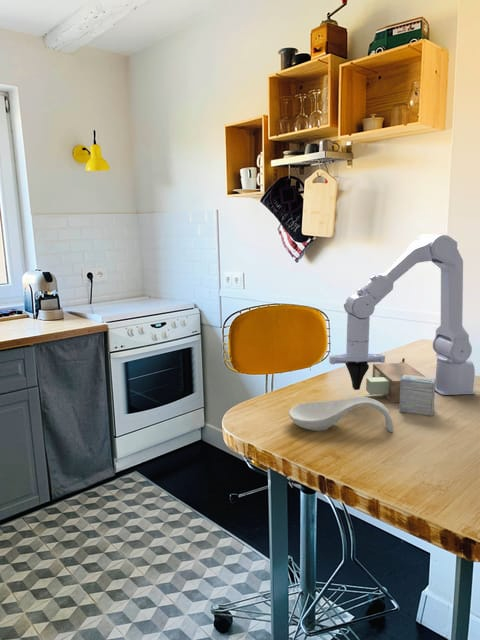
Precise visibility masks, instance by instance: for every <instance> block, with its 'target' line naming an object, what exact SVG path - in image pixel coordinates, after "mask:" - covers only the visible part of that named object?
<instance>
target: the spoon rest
mask: <svg viewBox="0 0 480 640" xmlns="http://www.w3.org/2000/svg"><path fill="white" fill-rule="evenodd" d="M362 406H367V407H371V408H374V409H376V410H377V411H378V412H380V413H382V415H383V416H384V418H385V419H384V420H385V426H386V429H387V431H388V432H389V433H392V432H394V423H393V419H392V417H391V415H390V411H389V410H388V408H387V407H386V405H384V404H383V403H382V402H381V401H378V400H377V399H374V398H372V397H371V398H370V397H367V396H355V397H347V398H341V399H335V400H325V401H324V400H323V401H322V400H321V401H310V402H303V403H299V404H296V405H294V406H292V408H290V409H289V411H288V417H289V418H290V419H291V420H292V421H293V422H294V423H295V424H296V425H297V426H298V427H300V428H303V429H306V430H307V431H308V430H309V431H313V432H314V431H315V432H320V431H321V432H322V431H325V430H328V429H329V428H330V427H332V426H333V425H335V423H337V422H338V421H339V420H341V419H342V417H344V416H345V415H346V414H348V413H349V412H351V411H352V410H354V409H355V408H358V407H362Z"/></svg>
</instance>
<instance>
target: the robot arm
mask: <svg viewBox="0 0 480 640" xmlns="http://www.w3.org/2000/svg"><path fill="white" fill-rule="evenodd" d="M427 262H432V263H433V264H434V265H436V266H437V267H438V269H440V325H439V326H438V327H437V328H436V330H435V336H434V338H433V341H432V349H433V351H434V352H435V353H436V355H435V356H436V367H435V368H436V369H435V379H436V381H435V392H437V393H438V394H440V395H442V396H452V395H453V396H454V395H455V396H456V395H457V396H458V395H474V394H476V393H475V391H474V383H475V374H476V371H475V366H474V363H473V361H472V360H471V359H469V358H470V357H471V355H472V350H473V347H472V344H471V342H470V338H469V336H470V335H469V333H468V332H467V330H466V329H465V328H464V326H463V308H464V307H463V305H464V304H463V302H464V301H463V299H464V298H463V297H464V296H463V294H464V260H463V258H462V255H461V253H460V251H459V249H458V242H457V241H456V240H455V239H454V238H452V237H451V236H449V235H446V234H442V235H437V234H434V235H433V234H426V233H425V234H421V235H420V236H418V238H416V240H414V241H412V243H410V244H409V247H408V248H407V249H406V251H404V252H403V253H402V255H400V256H399V258H397V260H396V261H395V262H394V263H393V264H392V265H391V266H390V267H389V268H388V269H387V270H386V271H385V272H384V273H376V275H375V274H373V275H371V276H370V277H369V281H367V283H366V284H364V285H363V287H361V288H358V289H357V290H356V292H357V293H354V294H351V295H349V296H348V297H347V298H346V300H345V301H346V302H344V304H343V309H344V311H345V312H346V315H347V317H346V320H347V321H346V323H347V324H346V348H345V349H346V351H345V352H346V353H341V354H334V355H329V358H328V359H329V360H328V361H329V363H330V365H335V364H345V366H346V368H347V371H348V373H349V377H350V380H351V385H352V388H353V390H355V391H356V390H357V391H359V390H360V389H361V386H362V385H361V384H362V382H363V379H364V377H365V376H366V374H367V372H368V370H369V369H370V365H369V363H379V364H386V356H385V355H384V354H383V353H369V346H370V345H369V342H370V318H371V317H370V316H372V315H373V314H374V311H375V307H376V306H377V305H378V303H380V302H381V301H382V300H383V299H385V297H386V296H388V295H389V294H390V293H391V292H392V291H393V289H394V284H395V282H396V281H398V280H399V279H400V278H401V277H402V276H403V275H405V274H406V273H407V272H408V271H410V269H412V268H413V267H414V266H415V265H416V264H419V263H427Z"/></svg>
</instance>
